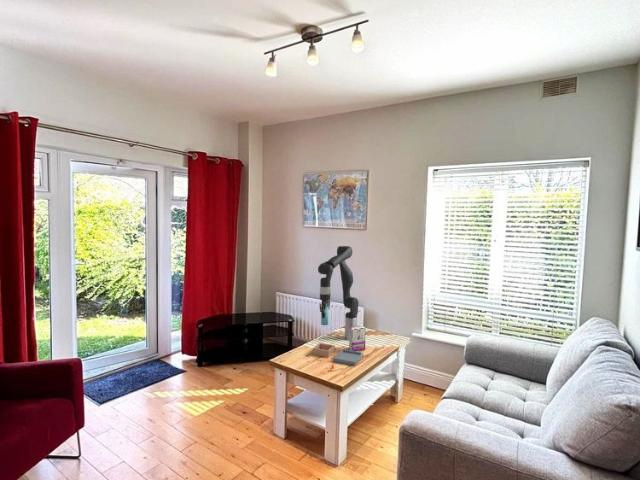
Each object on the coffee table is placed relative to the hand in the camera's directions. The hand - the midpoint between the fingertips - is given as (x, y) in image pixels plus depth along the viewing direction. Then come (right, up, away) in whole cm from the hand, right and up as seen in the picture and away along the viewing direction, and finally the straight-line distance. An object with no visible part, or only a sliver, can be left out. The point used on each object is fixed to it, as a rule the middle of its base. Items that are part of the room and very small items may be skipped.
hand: (324, 316), depth 240 cm
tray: (+16, -27, -8) cm, 32 cm away
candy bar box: (+24, -26, +9) cm, 37 cm away
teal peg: (0, -5, 0) cm, 5 cm away
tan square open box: (-1, -26, +1) cm, 26 cm away
